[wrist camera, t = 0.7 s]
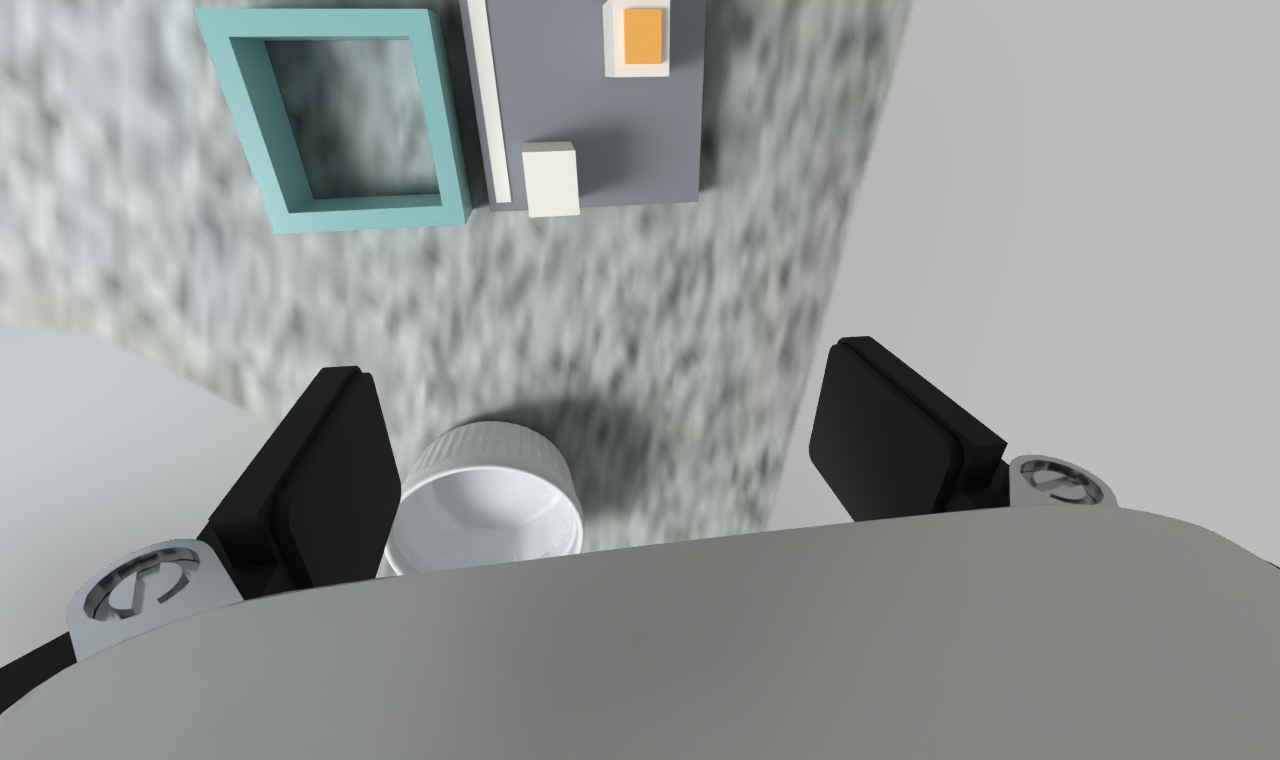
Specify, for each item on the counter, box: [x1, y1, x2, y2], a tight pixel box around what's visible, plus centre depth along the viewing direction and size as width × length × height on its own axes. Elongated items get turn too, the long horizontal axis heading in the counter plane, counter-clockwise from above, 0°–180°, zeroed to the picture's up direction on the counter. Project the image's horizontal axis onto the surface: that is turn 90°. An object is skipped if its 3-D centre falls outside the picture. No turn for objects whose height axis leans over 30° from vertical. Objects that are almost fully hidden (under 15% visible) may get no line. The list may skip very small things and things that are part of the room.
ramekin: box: [384, 421, 584, 575], centre depth 39 cm, size 13×13×7 cm
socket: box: [193, 9, 472, 234], centre depth 27 cm, size 10×10×4 cm
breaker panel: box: [459, 0, 706, 217], centre depth 26 cm, size 16×12×6 cm
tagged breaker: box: [602, 0, 670, 77], centre depth 25 cm, size 3×2×4 cm
